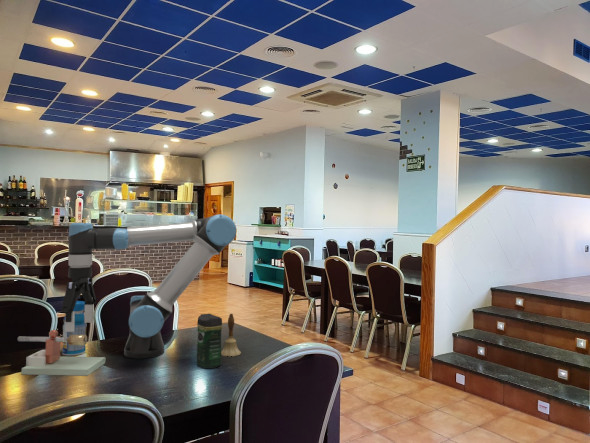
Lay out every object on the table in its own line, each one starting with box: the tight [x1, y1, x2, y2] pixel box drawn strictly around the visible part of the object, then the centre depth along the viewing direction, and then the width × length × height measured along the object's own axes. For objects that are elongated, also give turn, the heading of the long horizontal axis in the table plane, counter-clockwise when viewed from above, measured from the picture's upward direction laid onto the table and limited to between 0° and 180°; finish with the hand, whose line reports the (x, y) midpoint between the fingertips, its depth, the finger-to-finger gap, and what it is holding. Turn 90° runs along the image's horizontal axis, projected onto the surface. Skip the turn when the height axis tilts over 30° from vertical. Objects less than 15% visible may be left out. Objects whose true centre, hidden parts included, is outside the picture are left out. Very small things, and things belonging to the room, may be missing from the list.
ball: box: [37, 349, 46, 357], centre depth 151 cm, size 4×4×4 cm
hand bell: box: [221, 313, 242, 357], centre depth 174 cm, size 8×8×16 cm
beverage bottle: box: [61, 300, 88, 357], centre depth 170 cm, size 8×8×20 cm
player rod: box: [17, 329, 88, 363], centre depth 152 cm, size 23×5×11 cm, turn 91°
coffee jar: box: [195, 313, 223, 369], centre depth 159 cm, size 10×8×19 cm
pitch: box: [20, 349, 106, 377], centre depth 151 cm, size 22×14×5 cm, turn 91°
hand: (79, 326), depth 152 cm, fingers open, 13 cm apart
